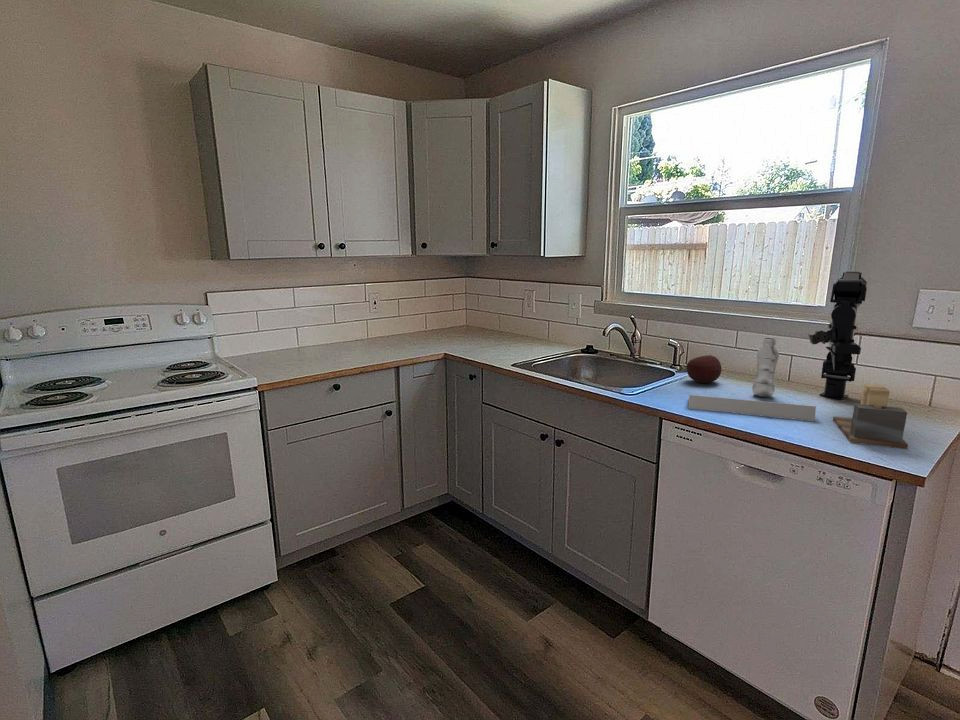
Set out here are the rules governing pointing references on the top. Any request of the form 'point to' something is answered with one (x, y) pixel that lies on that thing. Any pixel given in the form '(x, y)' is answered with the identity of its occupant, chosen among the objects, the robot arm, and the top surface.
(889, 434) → the walnut sill
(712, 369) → the potato
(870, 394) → the pale yellow box
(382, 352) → the top surface
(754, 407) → the decorative molding
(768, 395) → the plastic bottle
